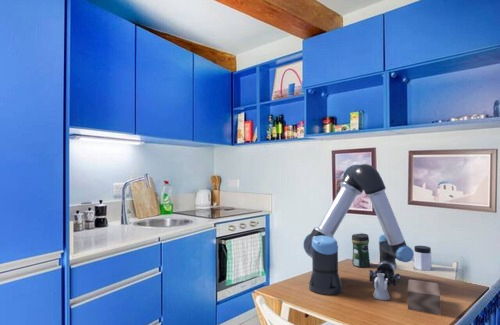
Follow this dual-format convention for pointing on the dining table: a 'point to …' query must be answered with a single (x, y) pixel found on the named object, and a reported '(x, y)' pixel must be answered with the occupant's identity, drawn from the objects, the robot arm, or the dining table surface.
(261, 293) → the dining table surface
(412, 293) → the walnut block
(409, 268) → the dining table surface
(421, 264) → the jar
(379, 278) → the flask
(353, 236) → the coffee jar
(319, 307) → the dining table surface
